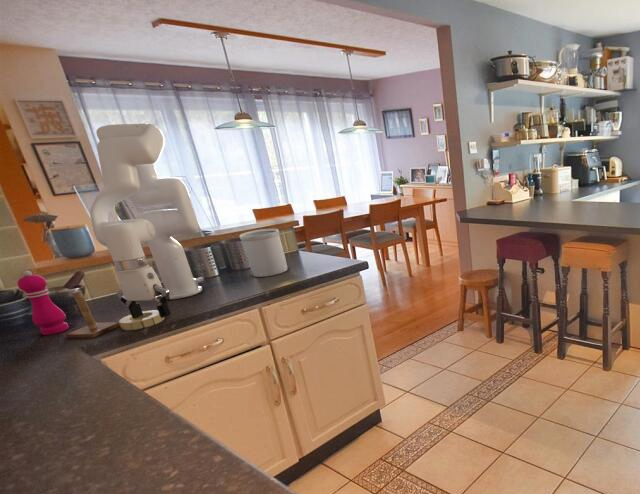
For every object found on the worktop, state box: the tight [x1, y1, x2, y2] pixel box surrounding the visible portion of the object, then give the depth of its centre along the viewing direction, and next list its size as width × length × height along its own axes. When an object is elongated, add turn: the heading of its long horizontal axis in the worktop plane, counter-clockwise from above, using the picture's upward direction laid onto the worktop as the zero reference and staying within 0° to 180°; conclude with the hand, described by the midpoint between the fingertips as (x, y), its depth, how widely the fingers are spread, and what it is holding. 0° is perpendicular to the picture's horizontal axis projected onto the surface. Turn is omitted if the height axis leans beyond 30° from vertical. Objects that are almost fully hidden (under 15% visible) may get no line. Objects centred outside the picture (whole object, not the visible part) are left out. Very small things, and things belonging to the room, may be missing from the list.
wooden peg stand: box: [65, 290, 121, 339], centre depth 133 cm, size 9×9×13 cm
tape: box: [118, 309, 165, 331], centre depth 140 cm, size 11×11×2 cm
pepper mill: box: [17, 270, 70, 336], centre depth 134 cm, size 7×7×20 cm
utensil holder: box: [238, 228, 288, 278], centre depth 186 cm, size 15×15×18 cm
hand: (152, 316), depth 138 cm, fingers open, 9 cm apart
